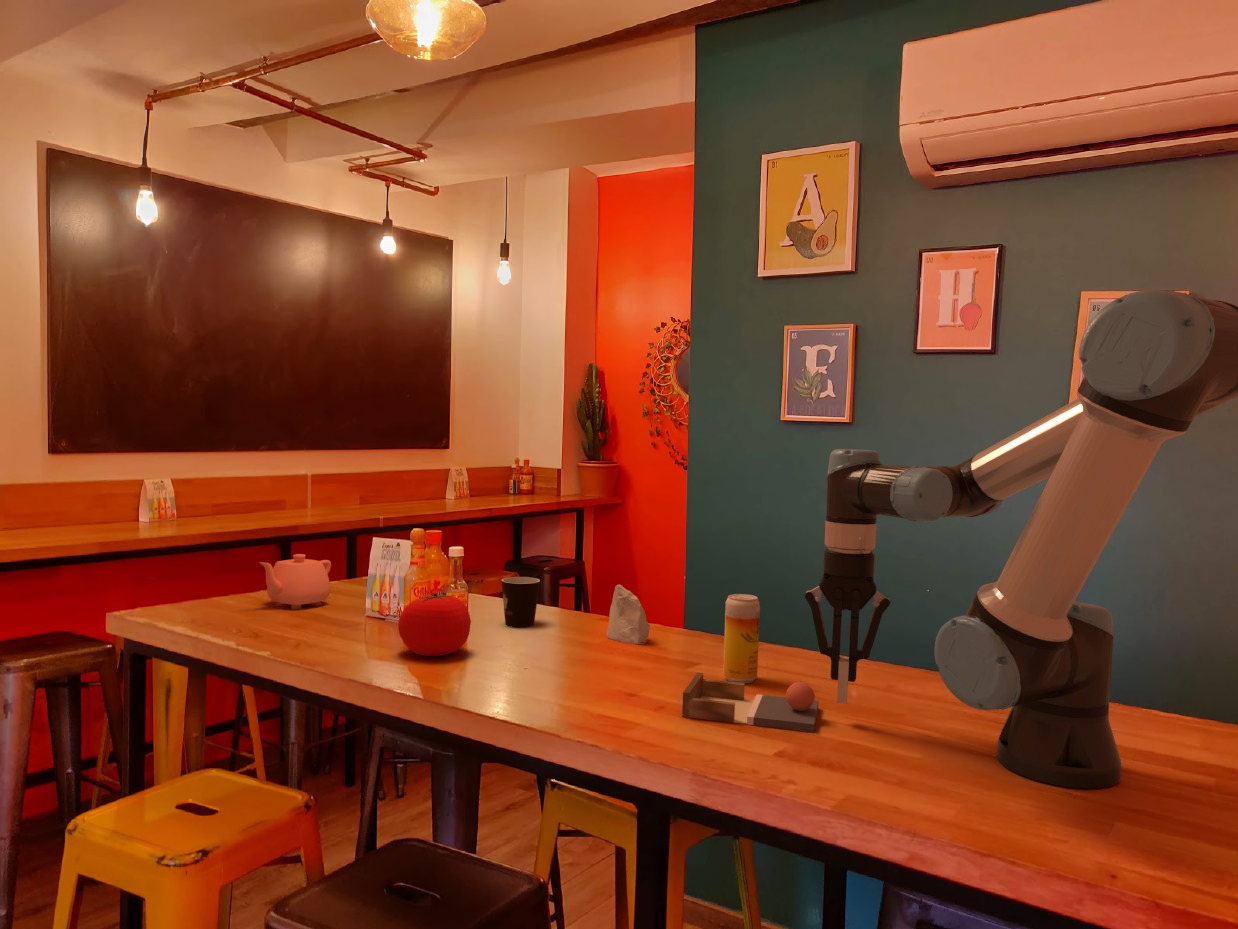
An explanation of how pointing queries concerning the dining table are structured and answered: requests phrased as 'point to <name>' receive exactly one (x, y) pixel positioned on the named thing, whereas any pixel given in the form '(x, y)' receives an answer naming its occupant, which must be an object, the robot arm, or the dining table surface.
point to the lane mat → (772, 713)
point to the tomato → (434, 625)
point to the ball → (800, 696)
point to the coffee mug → (520, 601)
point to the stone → (627, 618)
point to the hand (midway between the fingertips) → (842, 701)
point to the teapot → (298, 581)
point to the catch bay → (711, 708)
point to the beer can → (741, 638)
